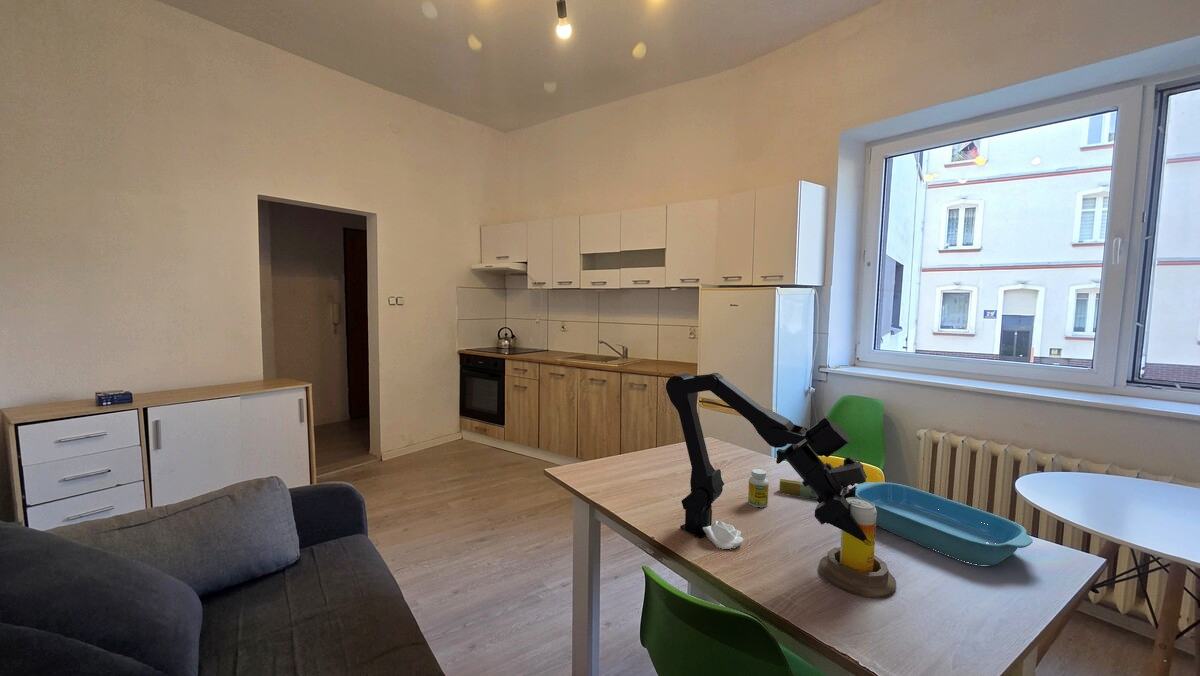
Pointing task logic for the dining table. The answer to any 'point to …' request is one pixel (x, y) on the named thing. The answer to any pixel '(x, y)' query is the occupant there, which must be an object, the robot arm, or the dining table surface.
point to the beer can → (853, 549)
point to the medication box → (796, 489)
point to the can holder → (858, 577)
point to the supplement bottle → (758, 489)
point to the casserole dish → (944, 523)
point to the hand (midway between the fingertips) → (866, 532)
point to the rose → (723, 535)
